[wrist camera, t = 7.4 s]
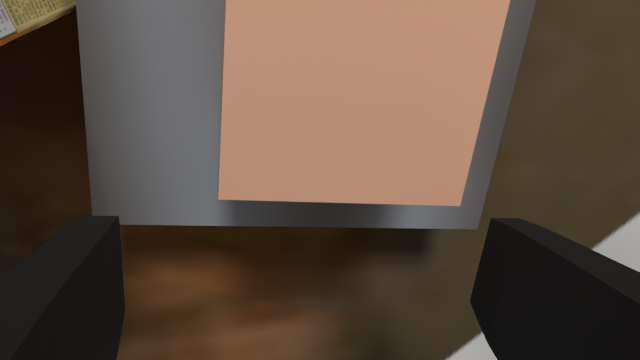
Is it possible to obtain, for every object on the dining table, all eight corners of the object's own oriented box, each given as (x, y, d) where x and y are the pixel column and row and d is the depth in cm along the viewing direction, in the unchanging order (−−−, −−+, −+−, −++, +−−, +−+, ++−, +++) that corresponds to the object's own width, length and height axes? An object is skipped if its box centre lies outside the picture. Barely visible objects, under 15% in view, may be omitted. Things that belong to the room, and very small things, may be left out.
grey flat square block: (117, 169, 19) (92, 224, 16) (95, -247, 14) (52, -304, 11) (435, 178, 21) (477, 229, 18) (509, -177, 17) (589, -206, 13)
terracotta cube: (220, 117, 15) (218, 199, 10) (227, -83, 13) (229, -89, 8) (393, 127, 16) (459, 206, 11) (425, -58, 14) (522, -52, 9)
